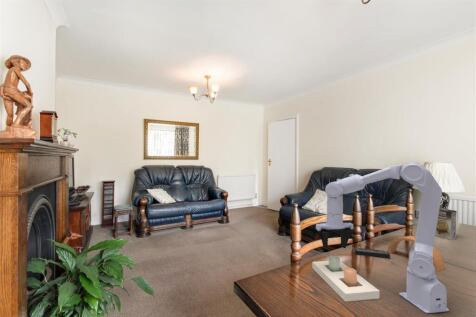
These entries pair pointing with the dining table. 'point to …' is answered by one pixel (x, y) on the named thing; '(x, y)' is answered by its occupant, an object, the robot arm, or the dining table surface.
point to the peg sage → (334, 263)
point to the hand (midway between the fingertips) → (334, 247)
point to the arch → (393, 245)
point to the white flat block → (337, 284)
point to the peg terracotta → (350, 277)
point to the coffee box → (446, 224)
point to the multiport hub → (371, 253)
